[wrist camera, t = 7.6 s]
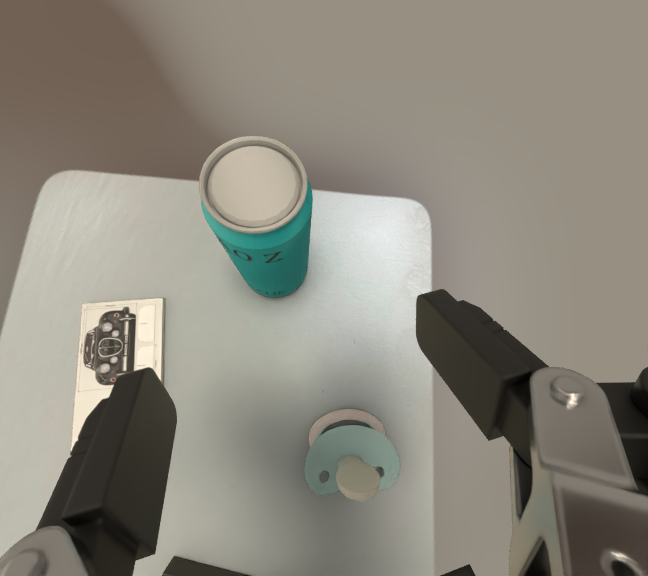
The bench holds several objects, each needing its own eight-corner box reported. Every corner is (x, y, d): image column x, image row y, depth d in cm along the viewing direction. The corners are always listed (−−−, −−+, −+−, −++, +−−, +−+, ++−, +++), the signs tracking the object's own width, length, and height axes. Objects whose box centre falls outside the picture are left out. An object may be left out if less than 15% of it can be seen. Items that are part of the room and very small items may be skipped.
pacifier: (302, 410, 27) (305, 490, 26) (302, 420, 21) (306, 525, 20) (386, 405, 28) (394, 482, 26) (410, 413, 22) (422, 513, 20)
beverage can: (252, 236, 31) (209, 119, 16) (312, 247, 31) (322, 141, 16) (238, 294, 29) (177, 225, 15) (301, 306, 29) (301, 247, 15)
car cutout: (161, 486, 25) (132, 511, 21) (70, 497, 25) (21, 525, 20) (164, 298, 29) (140, 286, 24) (85, 304, 28) (46, 293, 24)
